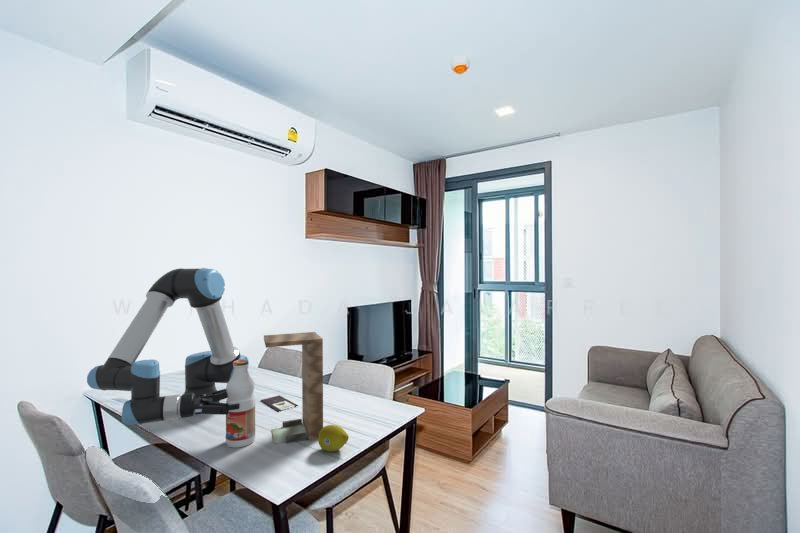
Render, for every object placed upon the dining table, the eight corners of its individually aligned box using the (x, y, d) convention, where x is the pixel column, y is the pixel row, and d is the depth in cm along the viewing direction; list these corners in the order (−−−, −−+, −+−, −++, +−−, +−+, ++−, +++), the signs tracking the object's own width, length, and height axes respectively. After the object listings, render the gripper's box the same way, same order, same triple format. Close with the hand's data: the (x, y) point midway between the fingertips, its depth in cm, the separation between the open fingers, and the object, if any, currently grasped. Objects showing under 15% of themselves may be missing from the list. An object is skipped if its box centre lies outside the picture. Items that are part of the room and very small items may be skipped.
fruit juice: (259, 442, 129) (259, 361, 129) (231, 451, 123) (231, 366, 123) (249, 433, 136) (248, 356, 136) (221, 441, 130) (221, 361, 130)
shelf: (266, 447, 125) (265, 343, 125) (264, 428, 140) (263, 335, 140) (323, 437, 132) (322, 338, 133) (315, 420, 147) (315, 331, 147)
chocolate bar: (279, 395, 176) (297, 405, 163) (279, 397, 176) (297, 407, 163) (260, 400, 170) (278, 410, 157) (260, 402, 170) (278, 413, 157)
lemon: (311, 451, 122) (311, 426, 122) (328, 441, 129) (328, 418, 129) (337, 459, 117) (337, 434, 117) (353, 449, 123) (352, 425, 124)
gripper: (186, 404, 134) (250, 396, 142) (173, 432, 111) (250, 421, 119) (186, 384, 134) (250, 377, 142) (173, 407, 111) (250, 397, 119)
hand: (250, 397), depth 131 cm, fingers open, 13 cm apart
